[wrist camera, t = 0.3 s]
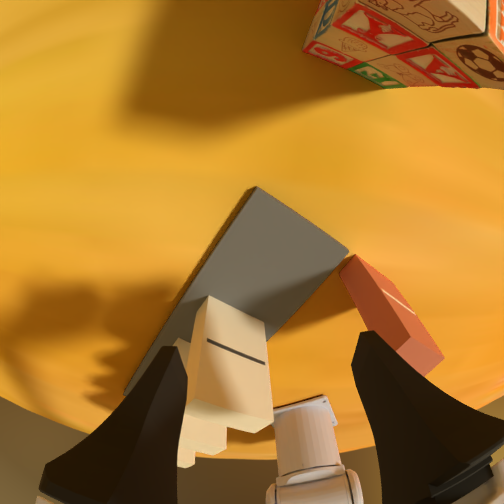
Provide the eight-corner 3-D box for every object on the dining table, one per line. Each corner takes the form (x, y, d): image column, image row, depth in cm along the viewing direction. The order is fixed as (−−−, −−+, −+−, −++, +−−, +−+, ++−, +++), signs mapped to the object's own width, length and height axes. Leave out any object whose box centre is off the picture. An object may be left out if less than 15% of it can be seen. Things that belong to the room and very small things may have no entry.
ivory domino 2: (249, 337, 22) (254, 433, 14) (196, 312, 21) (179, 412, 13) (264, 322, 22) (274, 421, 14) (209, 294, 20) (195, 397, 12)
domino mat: (183, 414, 30) (182, 418, 29) (124, 391, 27) (123, 394, 27) (346, 247, 20) (349, 251, 19) (256, 186, 17) (257, 188, 17)
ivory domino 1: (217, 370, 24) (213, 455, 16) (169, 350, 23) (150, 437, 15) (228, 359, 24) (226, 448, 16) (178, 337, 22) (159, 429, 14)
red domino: (376, 299, 22) (422, 378, 14) (338, 273, 21) (383, 362, 13) (392, 282, 21) (445, 357, 13) (355, 253, 20) (411, 336, 12)
